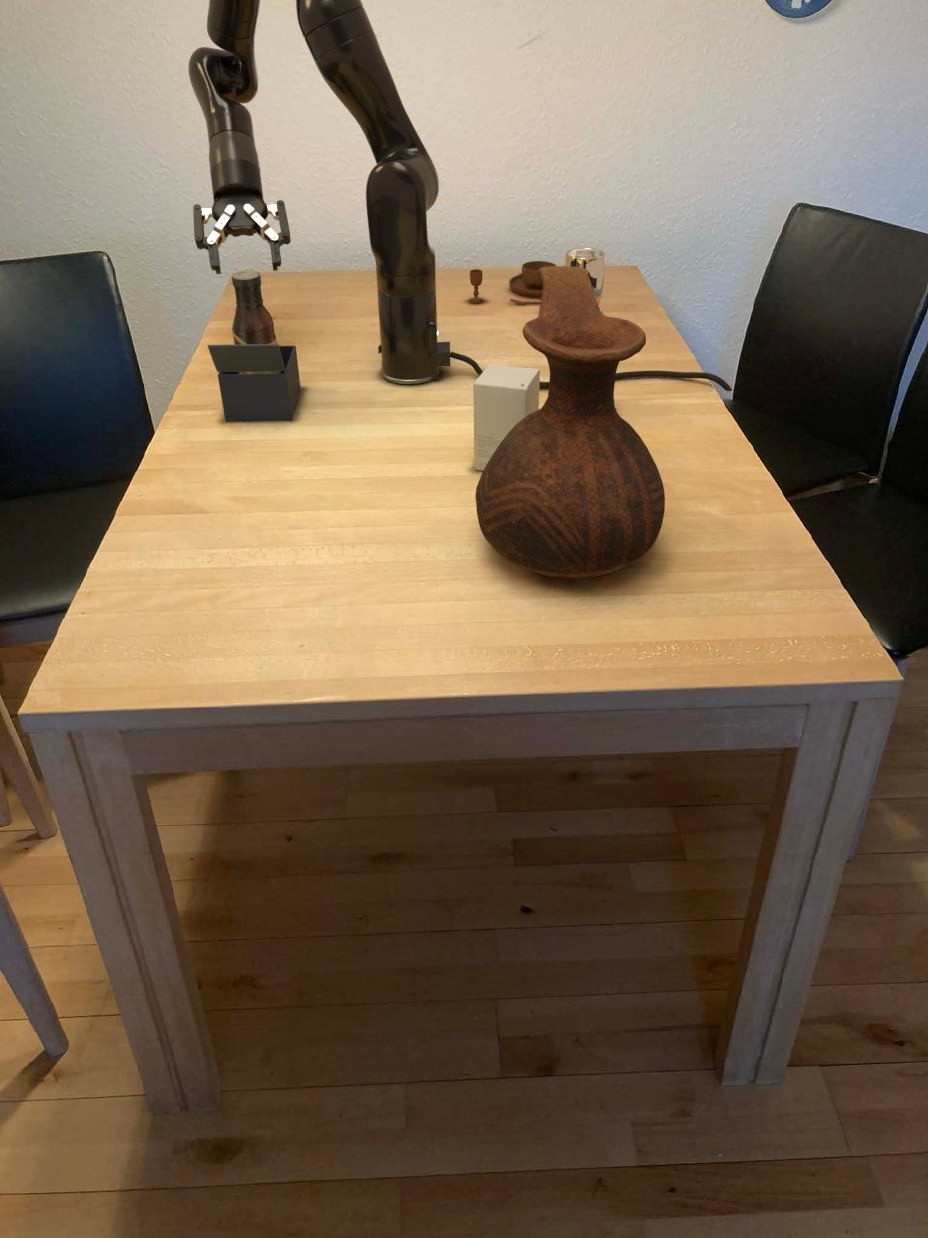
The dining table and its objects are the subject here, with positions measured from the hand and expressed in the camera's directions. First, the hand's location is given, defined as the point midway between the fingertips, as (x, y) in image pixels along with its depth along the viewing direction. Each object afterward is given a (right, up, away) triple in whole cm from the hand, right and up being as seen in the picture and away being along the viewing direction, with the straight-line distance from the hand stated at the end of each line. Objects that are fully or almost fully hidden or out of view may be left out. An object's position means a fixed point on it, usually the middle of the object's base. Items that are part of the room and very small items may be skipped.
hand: (246, 269), depth 142 cm
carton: (+2, -20, +4) cm, 20 cm away
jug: (+45, -45, -30) cm, 71 cm away
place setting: (+44, +14, +48) cm, 67 cm away
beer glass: (+54, -3, +26) cm, 60 cm away
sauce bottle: (+2, -20, +4) cm, 20 cm away
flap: (+2, -16, -8) cm, 18 cm away
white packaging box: (+39, -32, -12) cm, 51 cm away
